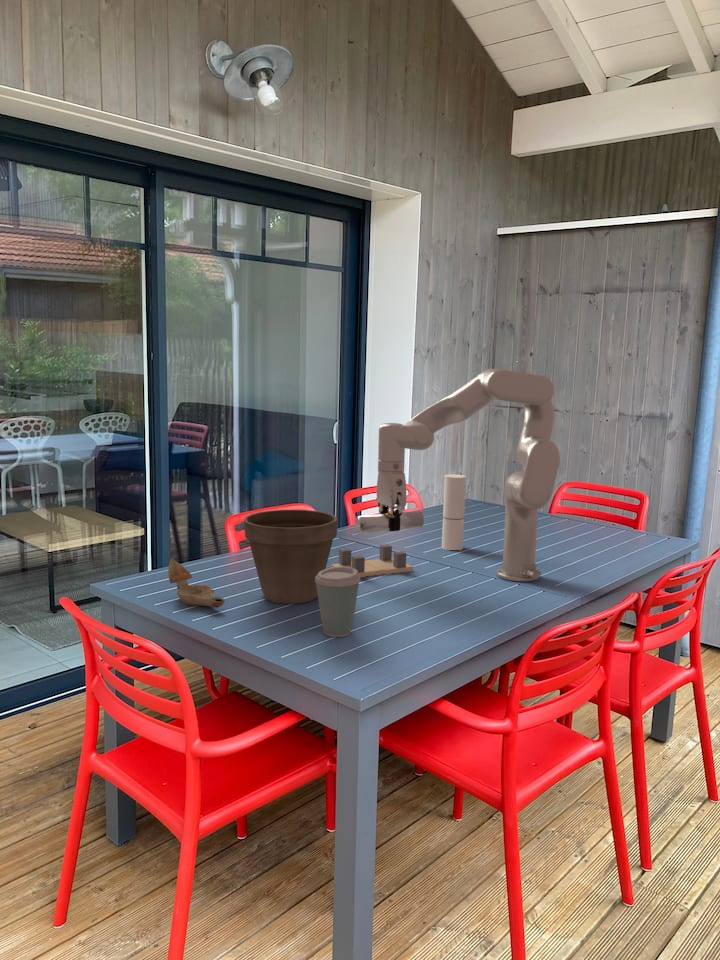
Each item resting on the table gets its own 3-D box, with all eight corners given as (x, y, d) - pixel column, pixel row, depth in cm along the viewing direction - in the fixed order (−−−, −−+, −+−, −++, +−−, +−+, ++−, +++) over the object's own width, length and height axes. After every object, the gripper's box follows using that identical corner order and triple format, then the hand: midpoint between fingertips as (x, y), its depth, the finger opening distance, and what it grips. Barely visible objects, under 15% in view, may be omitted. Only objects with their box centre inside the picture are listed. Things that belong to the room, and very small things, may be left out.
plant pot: (235, 586, 215) (235, 510, 212) (319, 579, 224) (320, 506, 220) (255, 615, 192) (255, 530, 188) (348, 606, 201) (350, 524, 197)
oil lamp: (185, 591, 210) (184, 555, 209) (235, 609, 196) (235, 571, 195) (158, 598, 204) (157, 561, 202) (208, 617, 190) (208, 578, 188)
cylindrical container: (462, 546, 267) (465, 474, 263) (463, 551, 260) (466, 478, 256) (441, 545, 267) (444, 473, 263) (441, 550, 260) (444, 477, 256)
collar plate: (412, 571, 234) (413, 552, 233) (347, 579, 224) (347, 559, 223) (394, 562, 244) (395, 543, 243) (331, 569, 234) (331, 550, 234)
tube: (414, 526, 230) (415, 509, 229) (423, 529, 225) (424, 512, 224) (354, 532, 221) (354, 514, 220) (362, 535, 216) (363, 517, 215)
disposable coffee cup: (330, 644, 174) (331, 580, 172) (305, 629, 183) (305, 568, 180) (368, 635, 180) (369, 573, 178) (342, 621, 189) (343, 562, 186)
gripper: (418, 470, 214) (416, 533, 217) (388, 462, 229) (386, 521, 232) (394, 471, 211) (392, 536, 214) (365, 463, 226) (364, 523, 229)
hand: (389, 528), depth 223 cm, fingers closed on tube, 5 cm apart
